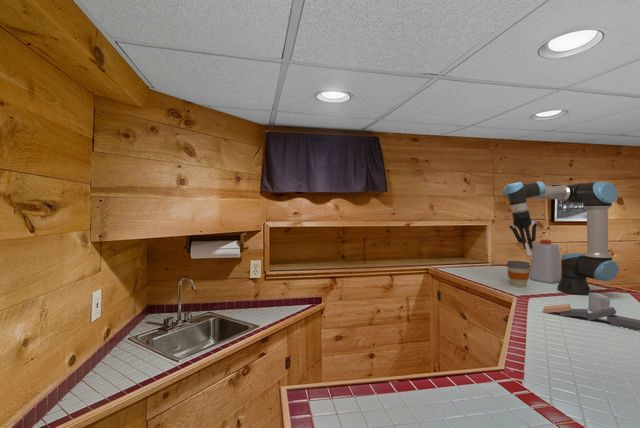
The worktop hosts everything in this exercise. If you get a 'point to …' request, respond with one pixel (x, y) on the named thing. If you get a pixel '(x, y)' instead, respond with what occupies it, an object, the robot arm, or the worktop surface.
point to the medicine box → (598, 302)
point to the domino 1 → (575, 312)
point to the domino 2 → (601, 313)
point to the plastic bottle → (545, 262)
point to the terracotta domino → (557, 308)
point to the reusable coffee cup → (518, 273)
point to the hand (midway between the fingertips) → (529, 254)
